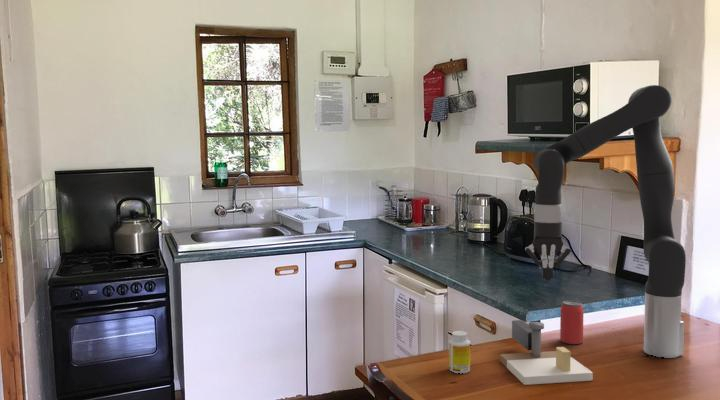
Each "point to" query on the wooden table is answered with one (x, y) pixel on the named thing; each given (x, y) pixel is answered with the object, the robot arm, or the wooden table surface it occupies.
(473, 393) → the wooden table surface
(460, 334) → the supplement bottle
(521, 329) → the block
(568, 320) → the beer can
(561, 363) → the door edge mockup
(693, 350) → the wooden table surface
